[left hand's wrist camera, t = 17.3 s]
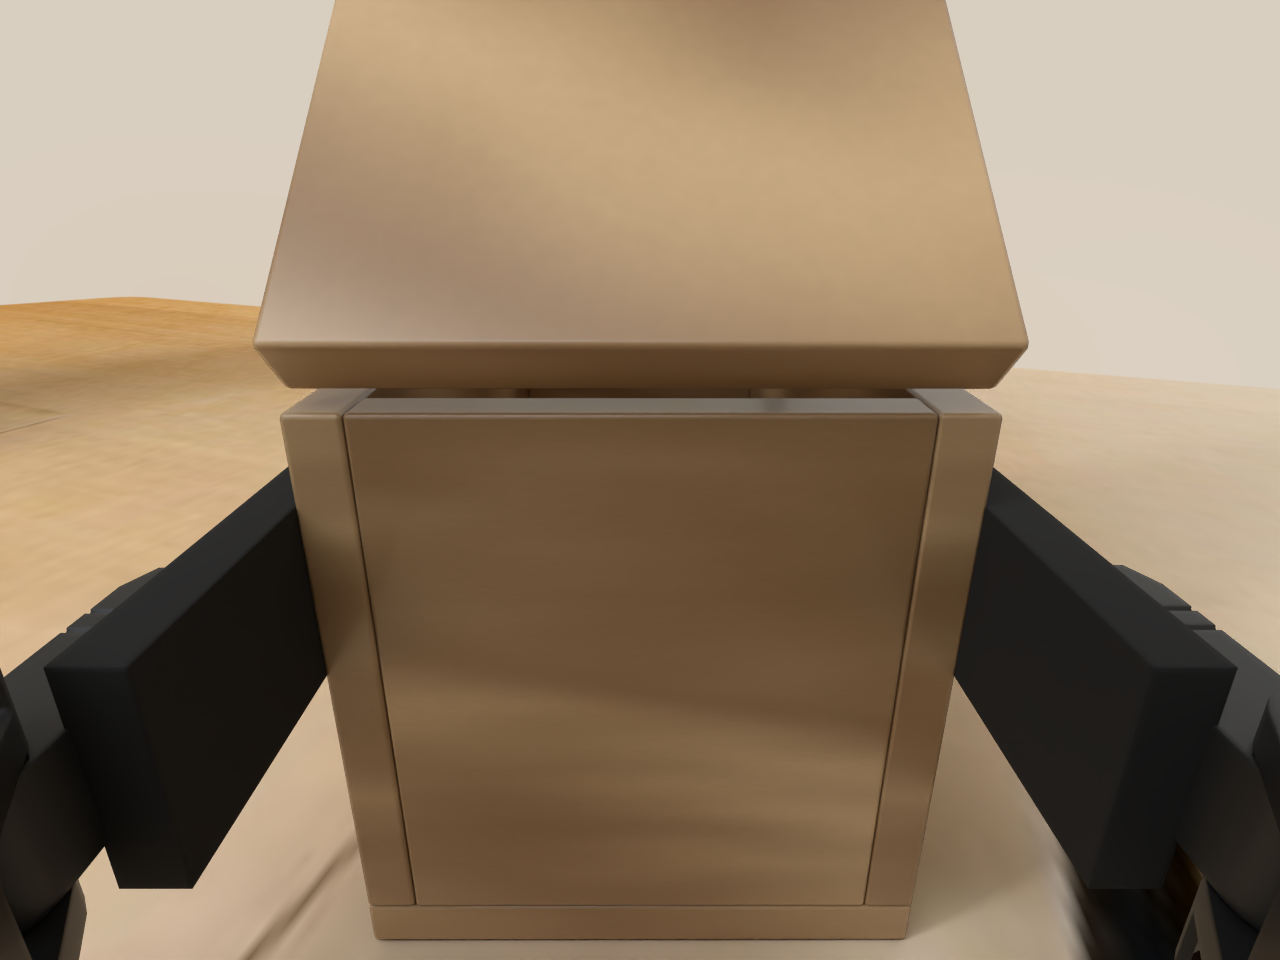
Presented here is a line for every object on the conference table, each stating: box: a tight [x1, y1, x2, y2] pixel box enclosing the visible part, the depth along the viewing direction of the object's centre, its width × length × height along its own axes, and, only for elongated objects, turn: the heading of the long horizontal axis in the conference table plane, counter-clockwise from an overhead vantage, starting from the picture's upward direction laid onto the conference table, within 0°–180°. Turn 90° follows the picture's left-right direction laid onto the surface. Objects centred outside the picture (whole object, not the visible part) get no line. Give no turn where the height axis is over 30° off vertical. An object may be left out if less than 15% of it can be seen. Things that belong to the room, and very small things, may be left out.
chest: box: [280, 388, 1002, 939], centre depth 19 cm, size 17×9×10 cm, turn 0°
